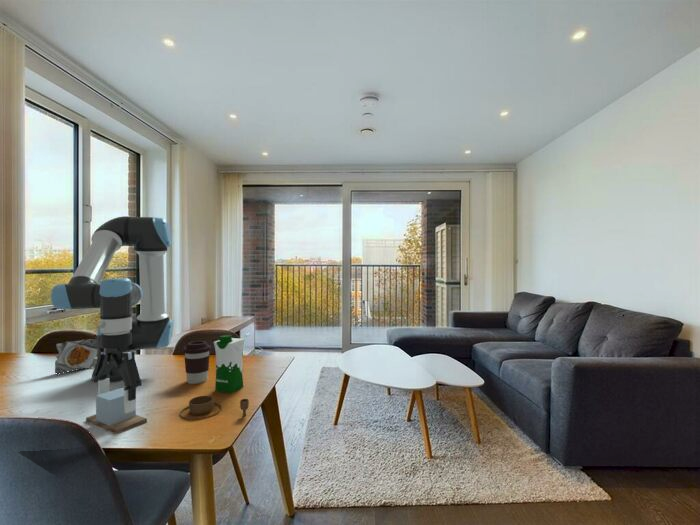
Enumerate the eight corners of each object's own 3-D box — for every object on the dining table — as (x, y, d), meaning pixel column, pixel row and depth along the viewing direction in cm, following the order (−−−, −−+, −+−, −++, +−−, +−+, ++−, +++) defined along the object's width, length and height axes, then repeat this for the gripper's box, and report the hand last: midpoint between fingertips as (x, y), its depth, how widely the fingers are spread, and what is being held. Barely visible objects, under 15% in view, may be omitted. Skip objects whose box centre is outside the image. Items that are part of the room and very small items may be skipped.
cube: (96, 420, 97) (96, 395, 97) (122, 410, 104) (122, 387, 104) (109, 425, 94) (109, 400, 94) (135, 415, 100) (135, 391, 100)
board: (86, 423, 99) (86, 417, 99) (116, 413, 106) (116, 407, 106) (116, 437, 91) (116, 430, 91) (146, 424, 98) (146, 418, 98)
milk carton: (211, 392, 123) (211, 336, 123) (227, 383, 132) (227, 331, 132) (231, 395, 120) (231, 338, 120) (247, 386, 129) (247, 333, 129)
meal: (57, 377, 140) (57, 344, 140) (54, 374, 143) (54, 343, 143) (101, 368, 152) (101, 338, 152) (98, 366, 154) (98, 337, 154)
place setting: (219, 401, 117) (219, 384, 117) (252, 419, 104) (252, 399, 104) (164, 419, 104) (164, 399, 103) (194, 442, 90) (194, 419, 90)
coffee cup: (200, 386, 129) (200, 346, 129) (177, 384, 131) (177, 345, 131) (216, 377, 139) (216, 340, 139) (194, 376, 141) (194, 339, 141)
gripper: (79, 330, 102) (79, 401, 102) (127, 340, 90) (127, 421, 90) (107, 325, 108) (107, 393, 108) (155, 334, 96) (155, 410, 96)
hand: (116, 406), depth 99 cm, fingers open, 13 cm apart
